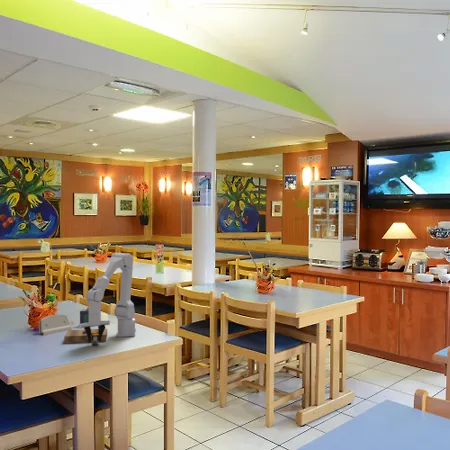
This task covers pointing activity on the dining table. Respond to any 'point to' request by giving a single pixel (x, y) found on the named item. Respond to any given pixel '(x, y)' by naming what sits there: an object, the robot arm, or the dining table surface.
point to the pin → (94, 338)
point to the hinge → (54, 324)
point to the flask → (84, 315)
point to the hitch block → (82, 336)
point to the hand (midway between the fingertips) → (94, 341)
